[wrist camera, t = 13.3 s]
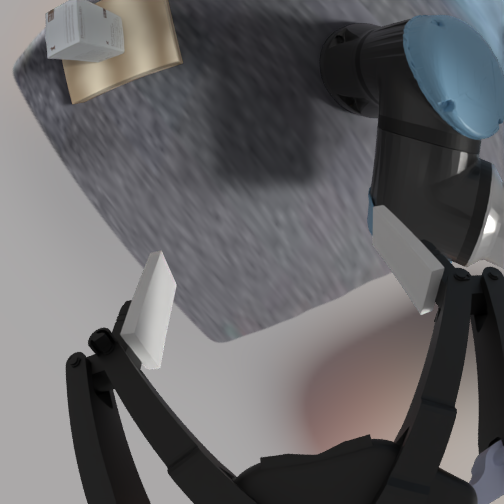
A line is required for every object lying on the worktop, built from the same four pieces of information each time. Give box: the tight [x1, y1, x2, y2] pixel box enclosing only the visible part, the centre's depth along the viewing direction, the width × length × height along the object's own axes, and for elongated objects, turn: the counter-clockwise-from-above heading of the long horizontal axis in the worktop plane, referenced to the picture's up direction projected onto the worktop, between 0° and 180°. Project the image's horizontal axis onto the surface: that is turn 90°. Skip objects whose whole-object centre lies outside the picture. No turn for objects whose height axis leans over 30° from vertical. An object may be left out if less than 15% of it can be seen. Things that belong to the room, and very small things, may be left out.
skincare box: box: [45, 0, 125, 63], centre depth 20 cm, size 6×4×12 cm
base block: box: [62, 0, 183, 104], centre depth 26 cm, size 16×14×4 cm
